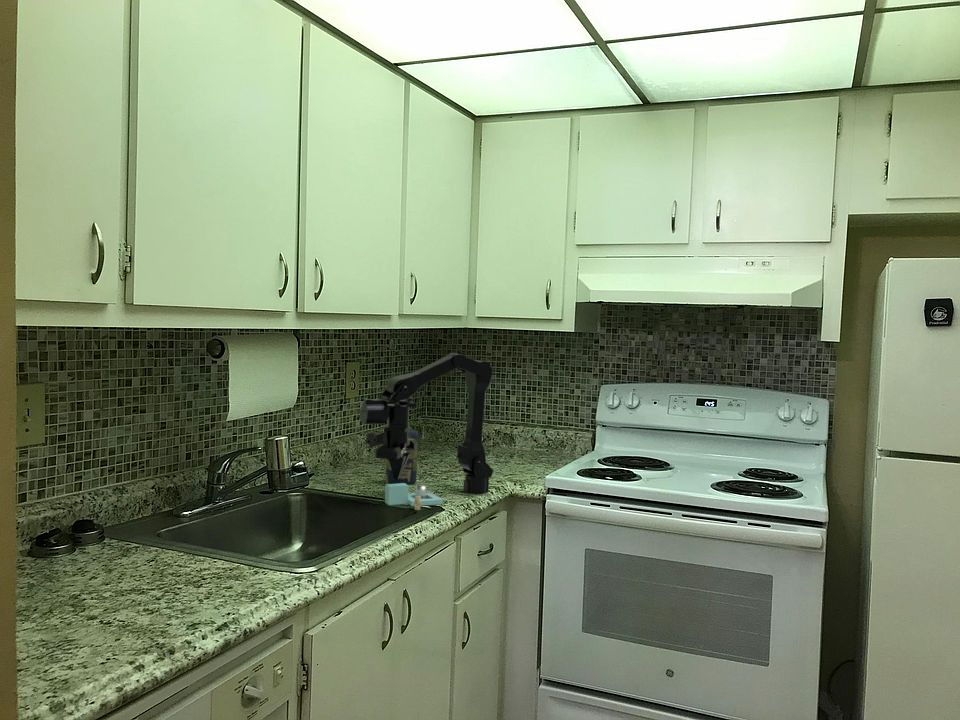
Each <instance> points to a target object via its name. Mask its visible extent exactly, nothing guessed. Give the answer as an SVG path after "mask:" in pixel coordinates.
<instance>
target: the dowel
mask: <svg viewBox="0 0 960 720" xmlns="http://www.w3.org/2000/svg"><path fill="white" fill-rule="evenodd" d="M421 507H422V506H421V496H415V506H414V511H421Z"/></svg>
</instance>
